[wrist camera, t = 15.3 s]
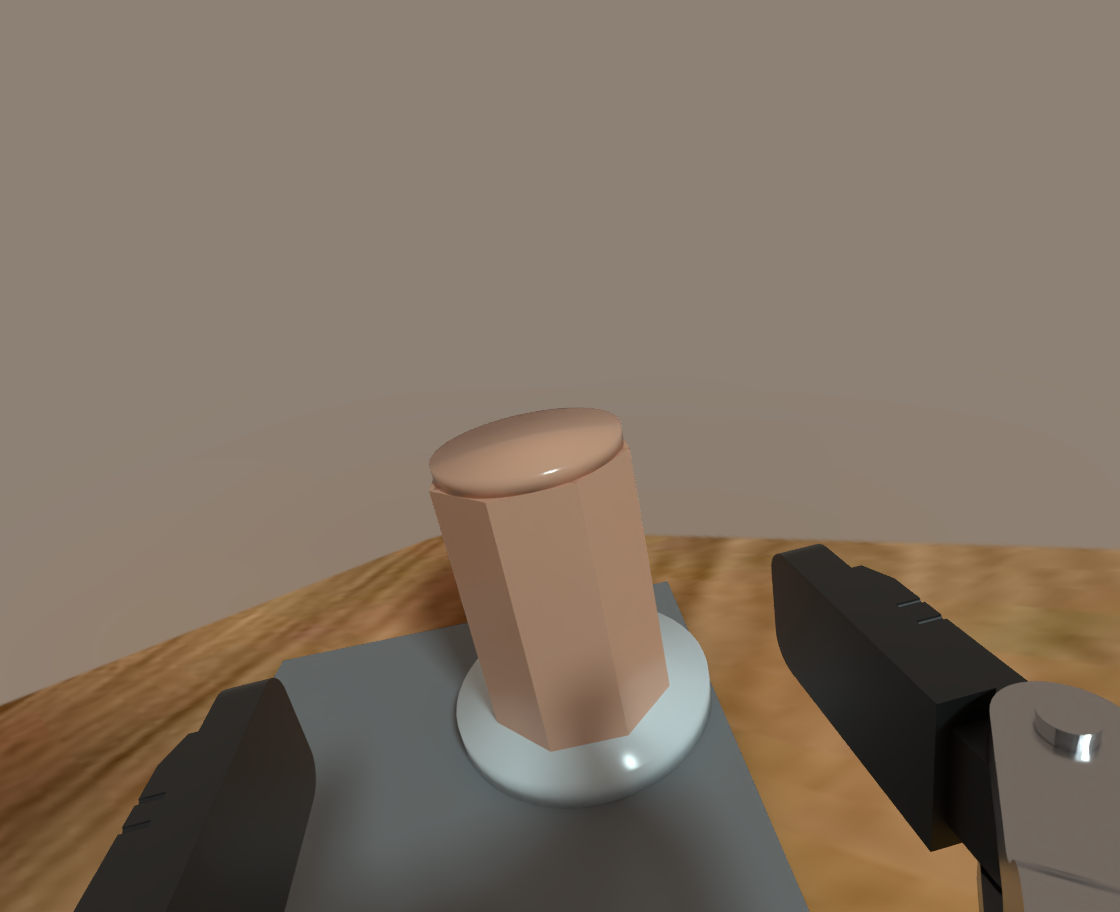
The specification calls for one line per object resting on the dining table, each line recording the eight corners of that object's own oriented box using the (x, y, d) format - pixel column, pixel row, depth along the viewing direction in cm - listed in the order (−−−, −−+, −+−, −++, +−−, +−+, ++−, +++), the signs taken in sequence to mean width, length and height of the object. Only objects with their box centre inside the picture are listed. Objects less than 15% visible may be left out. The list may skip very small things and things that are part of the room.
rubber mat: (-282, 1730, 9) (-309, 1721, 9) (287, 670, 32) (283, 660, 32) (1041, 1472, 9) (1044, 1456, 9) (668, 591, 32) (667, 581, 31)
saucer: (449, 835, 20) (442, 813, 20) (471, 645, 30) (466, 628, 29) (750, 774, 20) (747, 750, 20) (676, 603, 30) (673, 585, 29)
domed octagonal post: (495, 763, 21) (415, 498, 18) (499, 645, 28) (440, 431, 24) (683, 723, 21) (638, 450, 18) (644, 614, 28) (606, 396, 24)
